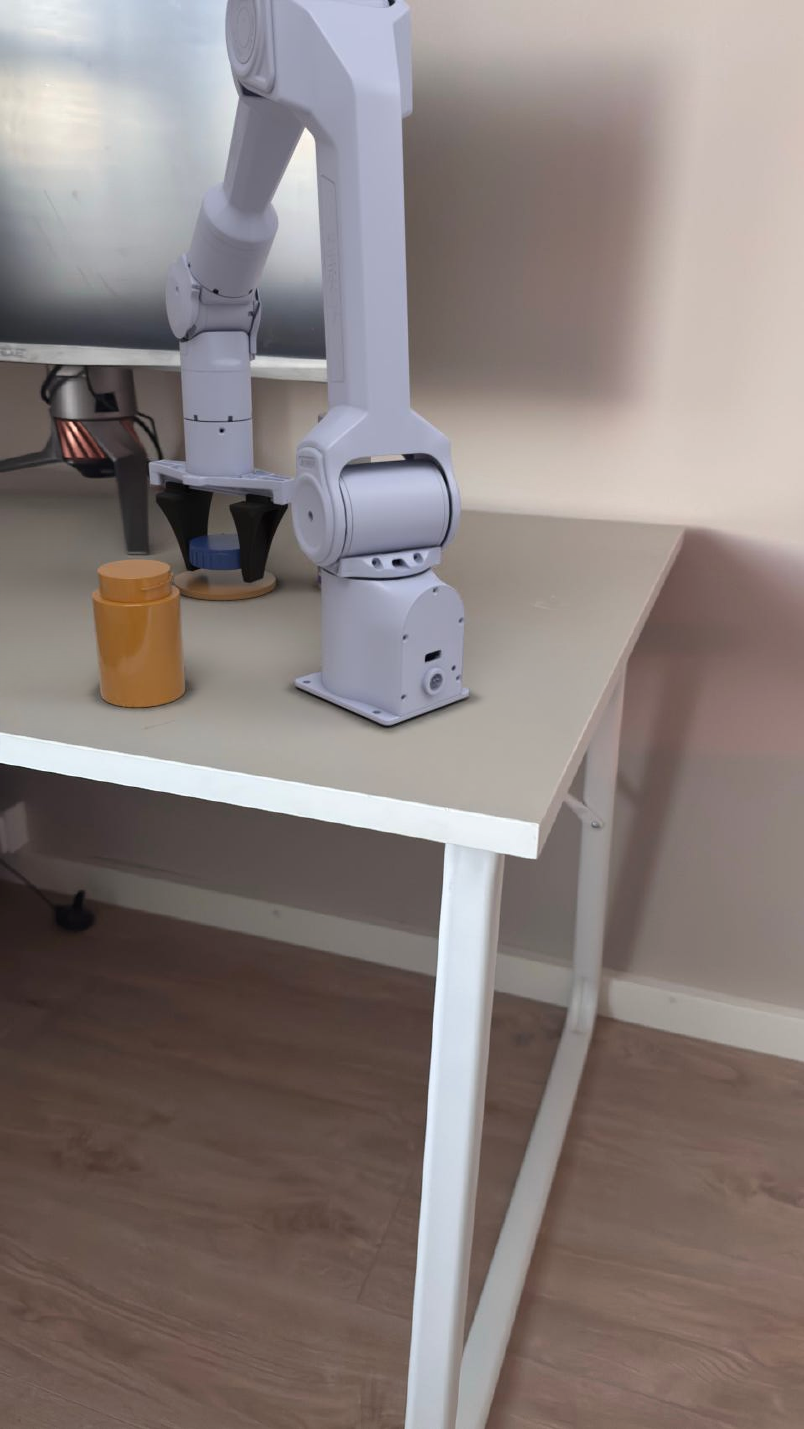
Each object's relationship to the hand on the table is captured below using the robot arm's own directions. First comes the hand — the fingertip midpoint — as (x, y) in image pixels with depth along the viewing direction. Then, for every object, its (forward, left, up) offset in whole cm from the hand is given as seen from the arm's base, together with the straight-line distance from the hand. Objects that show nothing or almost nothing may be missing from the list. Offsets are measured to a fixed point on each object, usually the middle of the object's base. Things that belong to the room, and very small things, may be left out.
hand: (224, 574), depth 96 cm
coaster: (0, 0, -1) cm, 1 cm away
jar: (-17, +19, -1) cm, 26 cm away
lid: (0, 0, +3) cm, 3 cm away
